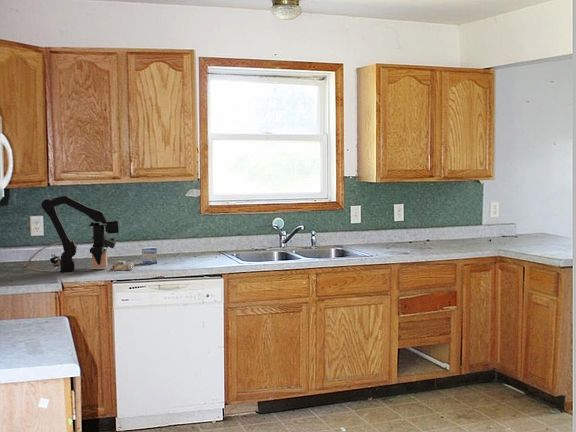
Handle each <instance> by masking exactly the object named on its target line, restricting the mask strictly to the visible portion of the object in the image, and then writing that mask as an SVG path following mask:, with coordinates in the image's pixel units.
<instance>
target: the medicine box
mask: <svg viewBox="0 0 576 432" xmlns="http://www.w3.org/2000/svg"><path fill="white" fill-rule="evenodd" d="M141 263H142V265H154V264H158V248H157V246H152V247H150V246H149V247H141Z"/></svg>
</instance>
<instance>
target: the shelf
mask: <svg viewBox="0 0 576 432" xmlns="http://www.w3.org/2000/svg"><path fill="white" fill-rule="evenodd" d="M134 267H135V265H134V261H131V262H130V263H129V264H128V265H119V261H116V262H115V263H114V264H113V265H112V269H111V272H120V271H121V272H122V271H123V270H131V269H132V268H133V269H134ZM133 269H132V270H133ZM132 270H131V271H132ZM123 272H124V271H123Z"/></svg>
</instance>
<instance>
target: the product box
mask: <svg viewBox="0 0 576 432" xmlns="http://www.w3.org/2000/svg"><path fill="white" fill-rule="evenodd" d="M103 252H104V253H103V254H102V255H101V263H100V265H98V264H97V262H96V260H95V258H94V256H93V254H92V253H91V264H92V267H91V268H92V269H94V268H95V269H98V268H99V269H101V268H103V269H104V268H105V269H106V268H108V252H107V250H106V251H103Z"/></svg>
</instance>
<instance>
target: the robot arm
mask: <svg viewBox="0 0 576 432" xmlns="http://www.w3.org/2000/svg"><path fill="white" fill-rule="evenodd" d="M40 205H41V208H42V209H43V211H44V212H45V213H46V214H47V216H48V217H49V218H50V219H49V220H51V222H52V224H53V226H54V228H55V230H56V233H57V234H58V237H59V239H60V240H61V244H62V249H63V252H62V253H61V254H60V260H59V262H60V263H59V265H60V269H59V272H60V273H71V272H74V271H75V270H76V261H75V259H74V258H73V257H75V255H76V253H77V250H78V248H77V247H78V245H76V242H75V240H74V239H73V240H71V239H70V237H69V236H68V234H67V232H66V230H65V228H64V225H63V224H62V222H61V219H60V217H59V215H58V213H57V208H56V207H57V206H60V205H66V206H68V207H70V208H73V209H75V210H77V211H78V212H81V213H83V214H85V216H87V217H89V218H90V219H91V220H92V221H91V222H89V223H88V227H92V237H91V239H92V240H93V241H92V242H93V243H92V246H91V247H90V248H89V254H91V255H92V254H93V256H94V258H95V260H96V262H97V264H98V265H100V263H101V255H102V254H103V253H104V252H103V251H107V250H108V248H110V249H115V246H116V244H117V241H116V240H115V238H114V237H111V238H107V237H106V235H105V233H107V234H108V235H109V234H110V235H111V234H113V235H114V234H120V233H119V232H120V230H119V221H118V220H117V219H115V220H108V219H107V218H105V217H104V212H103V211H102V210H100V209H97V208H93V207H90V206H87V205H85V204H83V203H81V202H80V201H78V200H75V199H74V198H71V197H69V196H68V195H66V194H64V195H62V196H57V197H54V198H49V197H48V198H47V197H46V198H45V199H43V200H42V201H41V204H40Z"/></svg>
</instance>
